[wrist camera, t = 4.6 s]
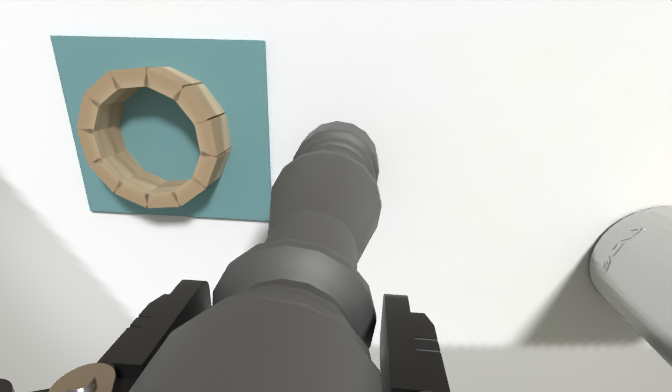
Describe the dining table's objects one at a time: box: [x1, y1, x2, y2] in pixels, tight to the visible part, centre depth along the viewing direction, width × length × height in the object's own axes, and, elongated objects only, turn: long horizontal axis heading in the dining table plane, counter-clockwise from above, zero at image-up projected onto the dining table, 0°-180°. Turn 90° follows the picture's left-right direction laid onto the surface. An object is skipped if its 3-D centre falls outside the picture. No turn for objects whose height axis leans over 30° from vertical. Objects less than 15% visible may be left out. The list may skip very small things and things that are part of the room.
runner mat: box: [50, 36, 271, 221], centre depth 29 cm, size 16×14×1 cm
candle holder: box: [128, 121, 385, 392], centre depth 18 cm, size 6×6×25 cm
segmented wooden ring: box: [77, 66, 232, 208], centre depth 28 cm, size 10×10×3 cm
